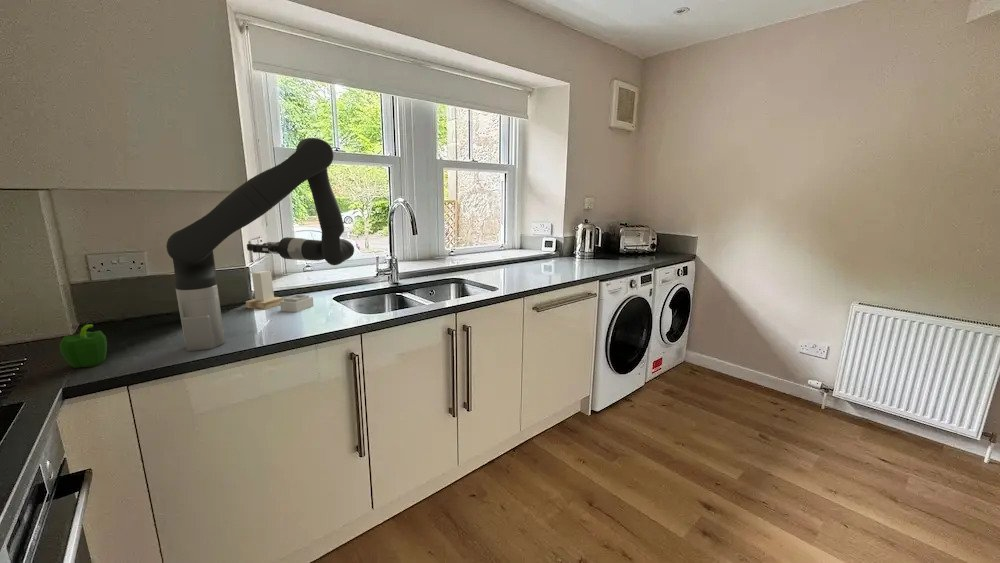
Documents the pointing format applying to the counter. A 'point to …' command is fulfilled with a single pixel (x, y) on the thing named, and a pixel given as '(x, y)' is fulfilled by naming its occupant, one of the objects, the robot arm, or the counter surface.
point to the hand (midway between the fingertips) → (258, 246)
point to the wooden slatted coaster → (264, 303)
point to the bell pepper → (84, 348)
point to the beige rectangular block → (296, 303)
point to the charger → (263, 285)
